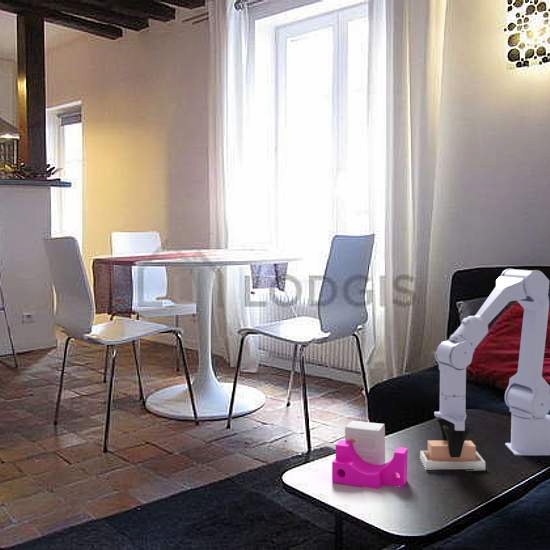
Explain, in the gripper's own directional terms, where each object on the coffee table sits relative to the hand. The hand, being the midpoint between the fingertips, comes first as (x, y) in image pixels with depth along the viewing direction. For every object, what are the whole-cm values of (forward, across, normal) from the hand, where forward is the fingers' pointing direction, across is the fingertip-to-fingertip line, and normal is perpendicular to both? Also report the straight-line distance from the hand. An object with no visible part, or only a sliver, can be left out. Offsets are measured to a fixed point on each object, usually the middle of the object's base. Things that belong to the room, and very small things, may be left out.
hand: (451, 452), depth 147 cm
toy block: (+4, +9, -20) cm, 22 cm away
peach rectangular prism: (+3, 0, 0) cm, 3 cm away
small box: (+4, +3, -20) cm, 21 cm away
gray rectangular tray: (+3, 0, 0) cm, 3 cm away
